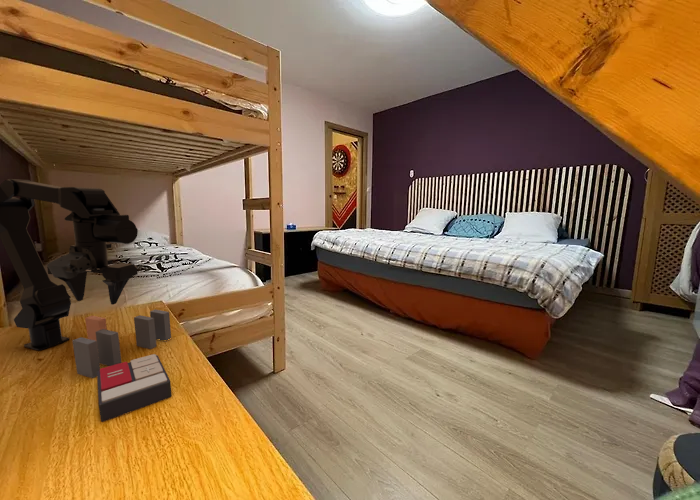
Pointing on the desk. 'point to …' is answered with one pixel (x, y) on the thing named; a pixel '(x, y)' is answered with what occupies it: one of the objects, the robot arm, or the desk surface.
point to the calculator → (131, 386)
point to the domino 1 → (94, 326)
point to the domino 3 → (108, 347)
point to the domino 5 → (161, 324)
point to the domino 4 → (145, 332)
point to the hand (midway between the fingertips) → (96, 302)
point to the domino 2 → (86, 357)
